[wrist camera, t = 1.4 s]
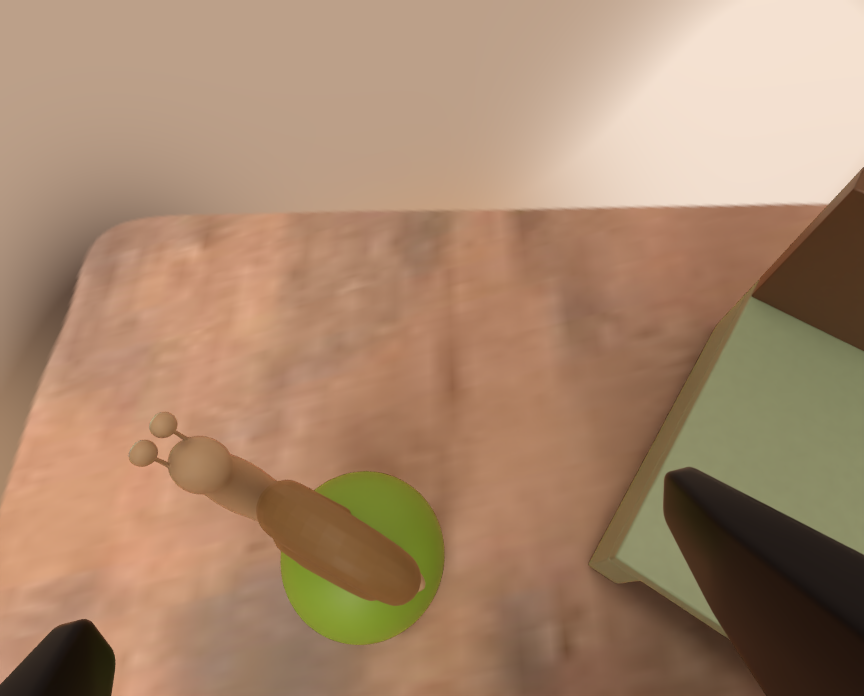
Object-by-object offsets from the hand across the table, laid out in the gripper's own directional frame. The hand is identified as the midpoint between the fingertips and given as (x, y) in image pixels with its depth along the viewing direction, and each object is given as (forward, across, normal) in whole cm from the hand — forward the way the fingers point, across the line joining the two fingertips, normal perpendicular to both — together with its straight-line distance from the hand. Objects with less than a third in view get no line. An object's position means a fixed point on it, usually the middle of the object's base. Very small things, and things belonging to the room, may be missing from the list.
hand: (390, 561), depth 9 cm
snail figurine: (+10, +2, +10) cm, 14 cm away
